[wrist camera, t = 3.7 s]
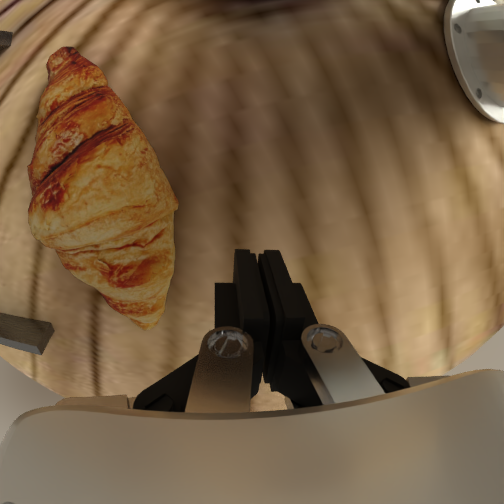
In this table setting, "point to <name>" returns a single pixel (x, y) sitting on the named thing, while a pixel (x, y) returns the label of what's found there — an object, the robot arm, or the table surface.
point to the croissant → (101, 191)
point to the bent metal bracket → (17, 328)
